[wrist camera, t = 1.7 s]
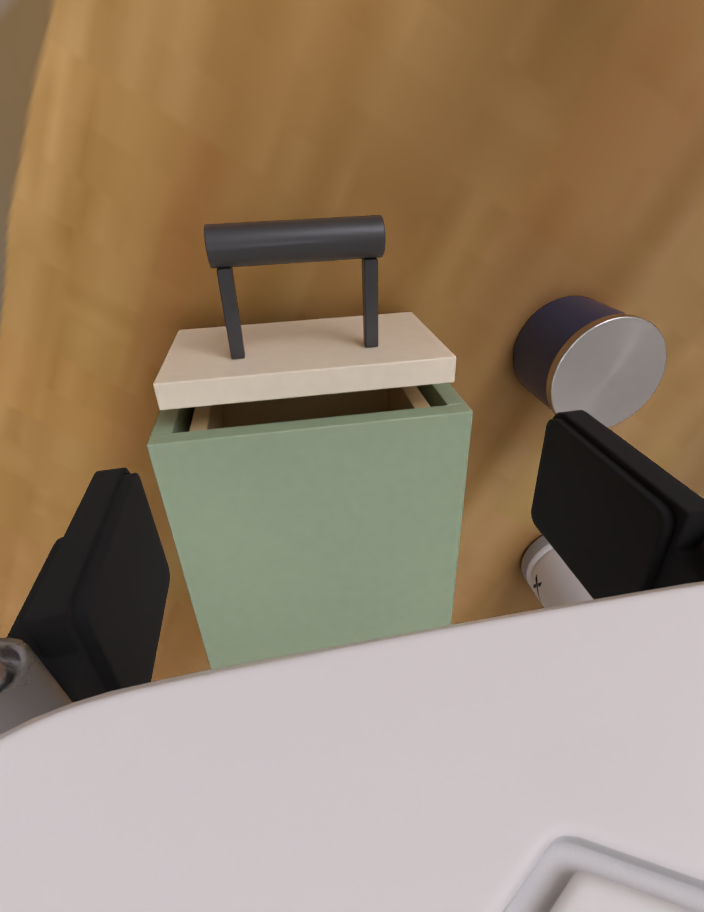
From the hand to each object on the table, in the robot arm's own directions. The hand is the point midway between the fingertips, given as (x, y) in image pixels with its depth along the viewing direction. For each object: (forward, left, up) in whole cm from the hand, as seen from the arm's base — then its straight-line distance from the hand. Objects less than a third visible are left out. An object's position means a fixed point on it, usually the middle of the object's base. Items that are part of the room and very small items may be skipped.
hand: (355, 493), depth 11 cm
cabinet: (+10, +4, -19) cm, 21 cm away
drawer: (+5, +2, -18) cm, 18 cm away
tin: (-2, +17, -19) cm, 25 cm away
